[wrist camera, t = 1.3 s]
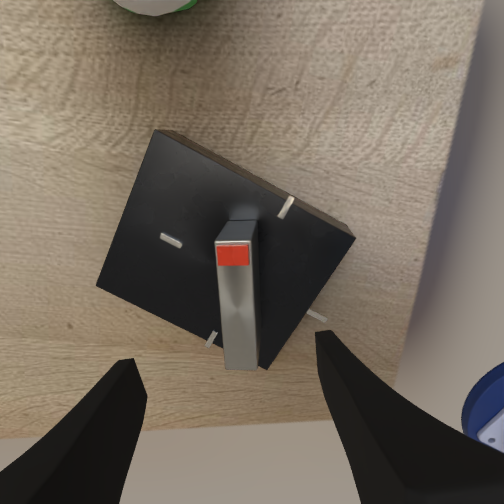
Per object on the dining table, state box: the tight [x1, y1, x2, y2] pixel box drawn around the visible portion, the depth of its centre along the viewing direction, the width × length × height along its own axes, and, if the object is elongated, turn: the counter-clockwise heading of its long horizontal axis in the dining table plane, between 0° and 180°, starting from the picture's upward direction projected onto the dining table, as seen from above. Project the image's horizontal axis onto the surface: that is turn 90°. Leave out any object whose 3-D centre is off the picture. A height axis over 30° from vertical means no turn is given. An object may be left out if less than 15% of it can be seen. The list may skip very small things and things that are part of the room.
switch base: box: [96, 129, 356, 370], centre depth 22 cm, size 14×12×3 cm
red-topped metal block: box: [214, 220, 262, 370], centre depth 18 cm, size 8×2×4 cm, turn 3°
